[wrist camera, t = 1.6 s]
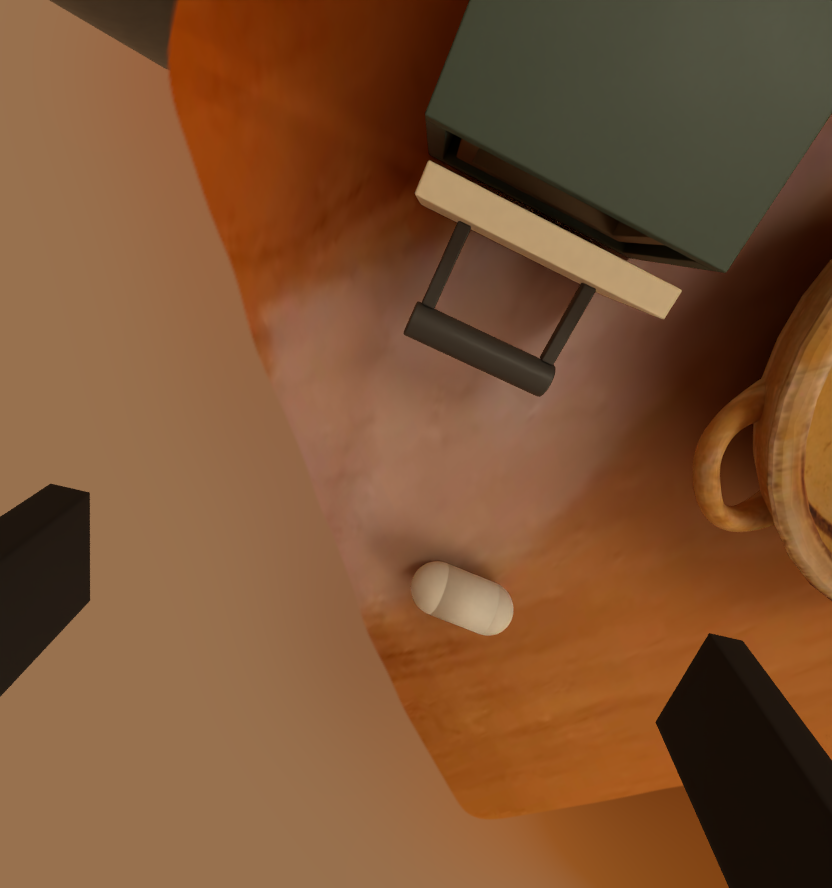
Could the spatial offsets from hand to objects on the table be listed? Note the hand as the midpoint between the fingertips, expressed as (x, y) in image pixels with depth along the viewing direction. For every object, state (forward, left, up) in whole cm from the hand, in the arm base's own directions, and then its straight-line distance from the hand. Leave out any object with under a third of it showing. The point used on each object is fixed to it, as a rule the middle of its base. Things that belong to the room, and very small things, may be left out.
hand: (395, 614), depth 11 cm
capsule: (+9, -12, -20) cm, 25 cm away
